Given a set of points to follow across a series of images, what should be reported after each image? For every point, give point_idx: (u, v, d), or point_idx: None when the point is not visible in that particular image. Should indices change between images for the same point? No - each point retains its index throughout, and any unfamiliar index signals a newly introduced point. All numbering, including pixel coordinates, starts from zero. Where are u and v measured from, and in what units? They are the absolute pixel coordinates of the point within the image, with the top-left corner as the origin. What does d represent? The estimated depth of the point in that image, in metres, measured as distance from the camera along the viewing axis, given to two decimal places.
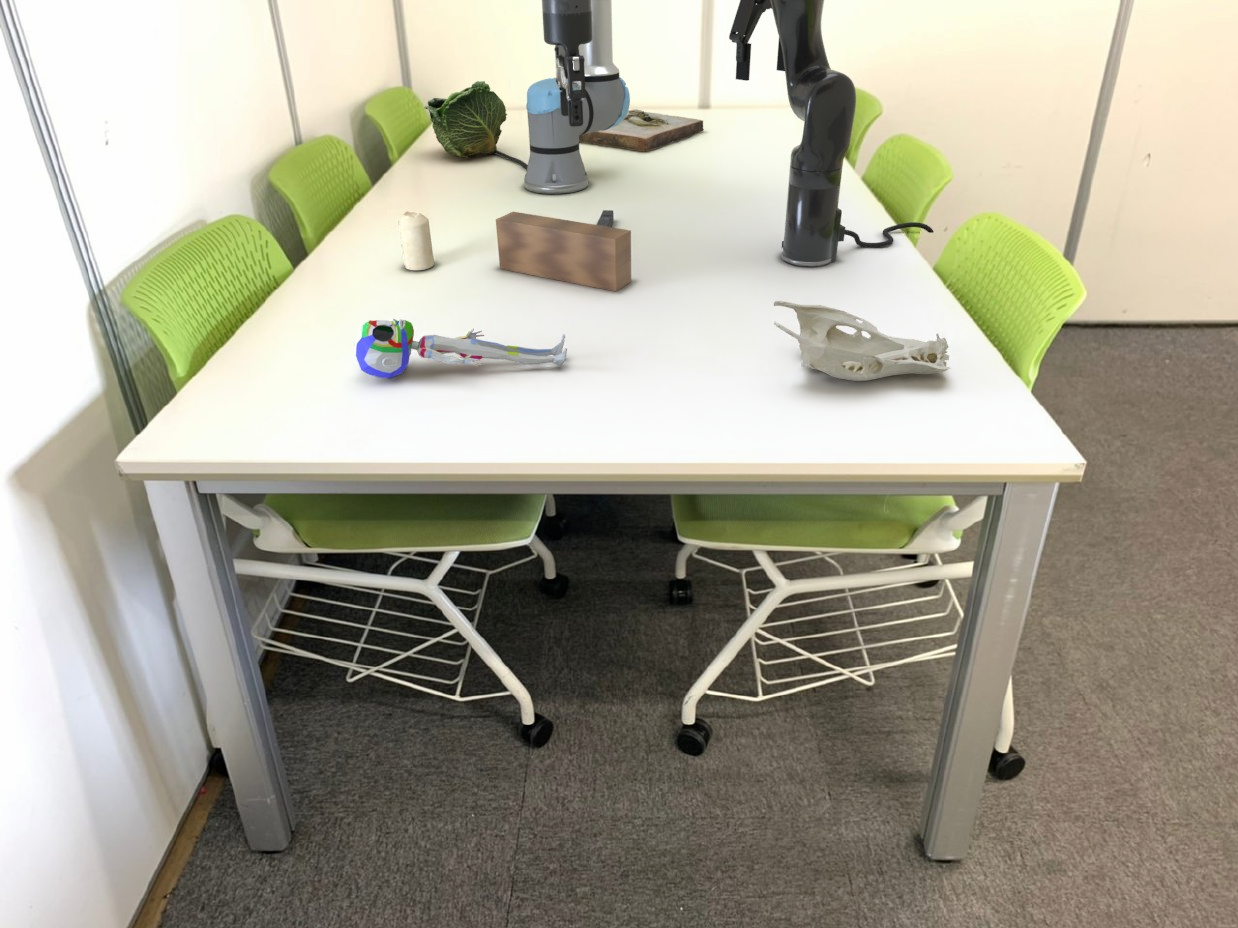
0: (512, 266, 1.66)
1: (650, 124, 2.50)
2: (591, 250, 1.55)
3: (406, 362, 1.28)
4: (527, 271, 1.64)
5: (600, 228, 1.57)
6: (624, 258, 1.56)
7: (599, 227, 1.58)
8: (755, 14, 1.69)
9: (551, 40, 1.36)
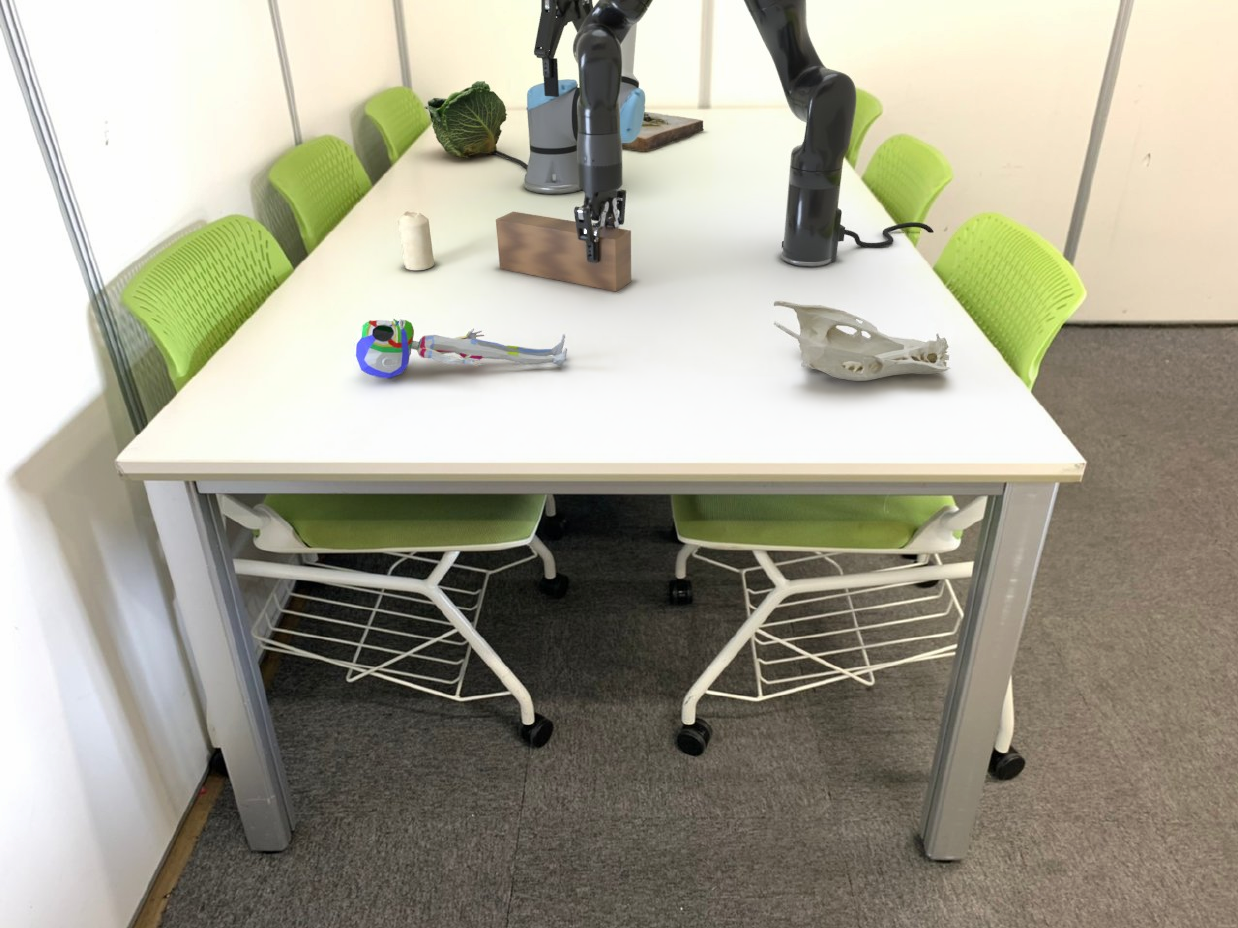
0: (512, 266, 1.66)
1: (650, 124, 2.50)
2: None
3: (406, 362, 1.28)
4: (527, 271, 1.64)
5: None
6: (624, 258, 1.56)
7: None
8: (557, 28, 1.62)
9: (578, 184, 1.51)
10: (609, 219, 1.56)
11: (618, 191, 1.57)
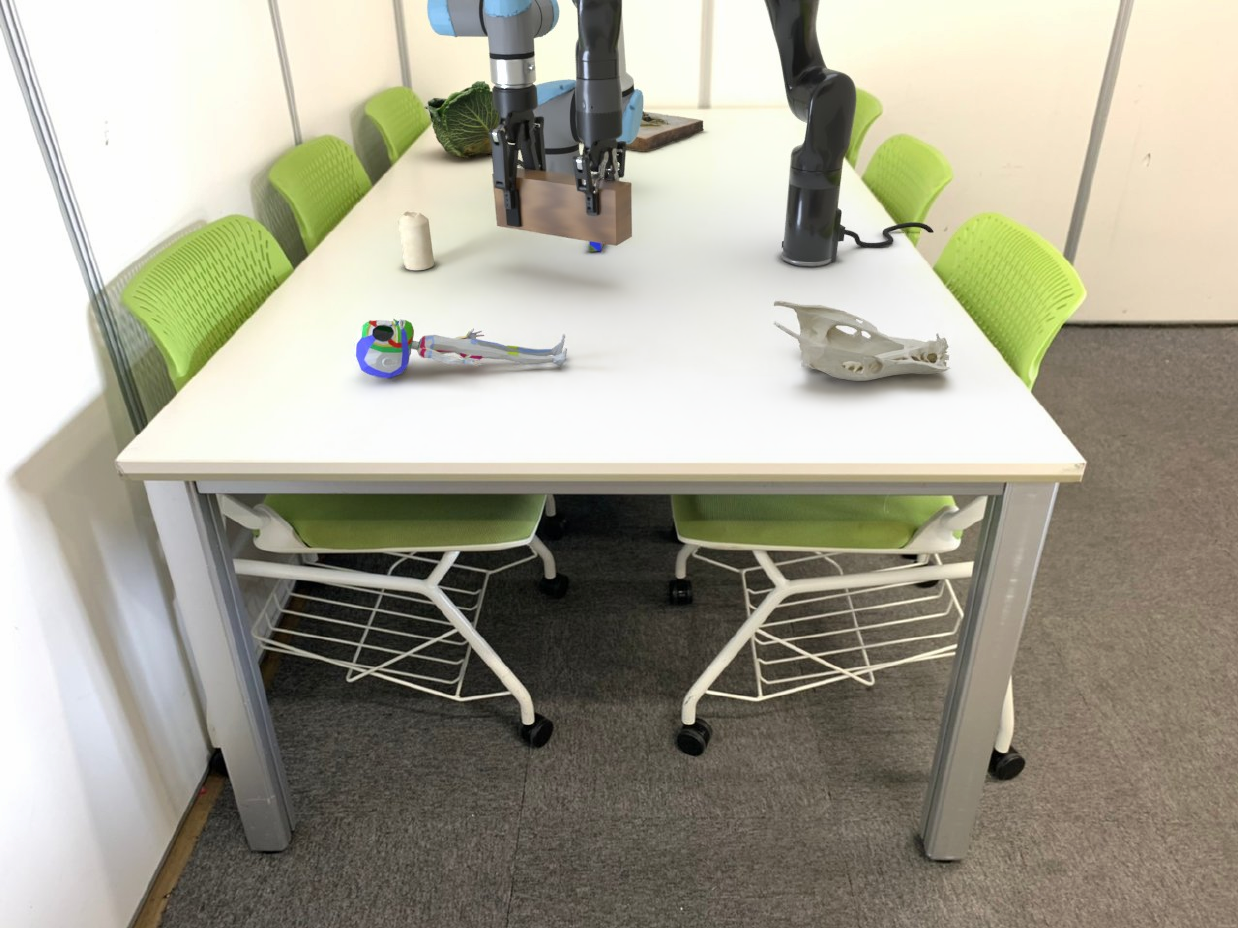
0: None
1: (650, 124, 2.50)
2: None
3: (406, 362, 1.28)
4: (525, 227, 1.60)
5: None
6: (624, 211, 1.52)
7: None
8: (512, 157, 1.54)
9: (577, 133, 1.46)
10: (609, 171, 1.52)
11: (618, 142, 1.52)
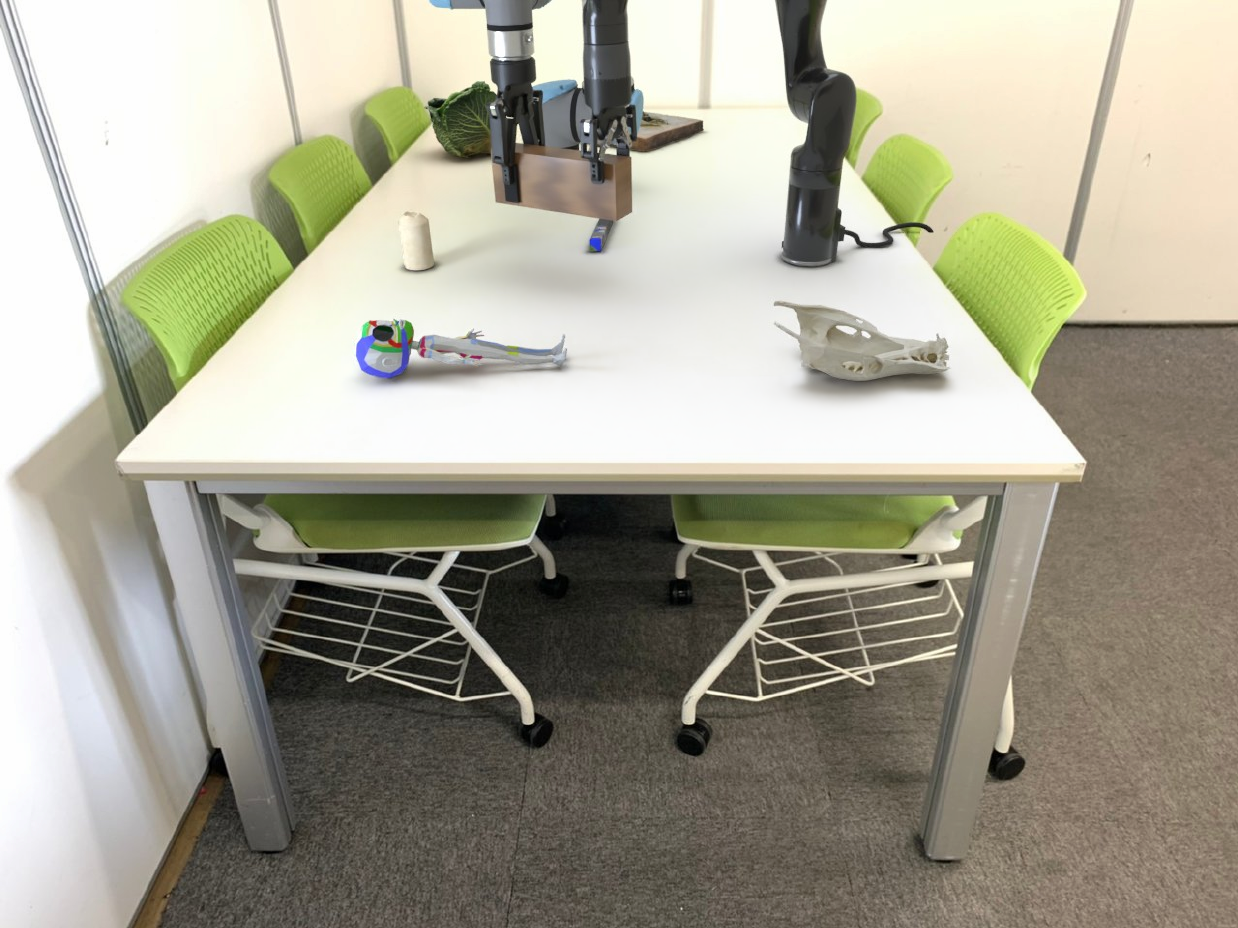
0: None
1: (650, 124, 2.50)
2: (590, 178, 1.49)
3: (406, 362, 1.28)
4: (524, 203, 1.58)
5: None
6: (624, 185, 1.50)
7: None
8: (510, 131, 1.52)
9: (585, 101, 1.43)
10: (620, 137, 1.49)
11: (627, 107, 1.48)
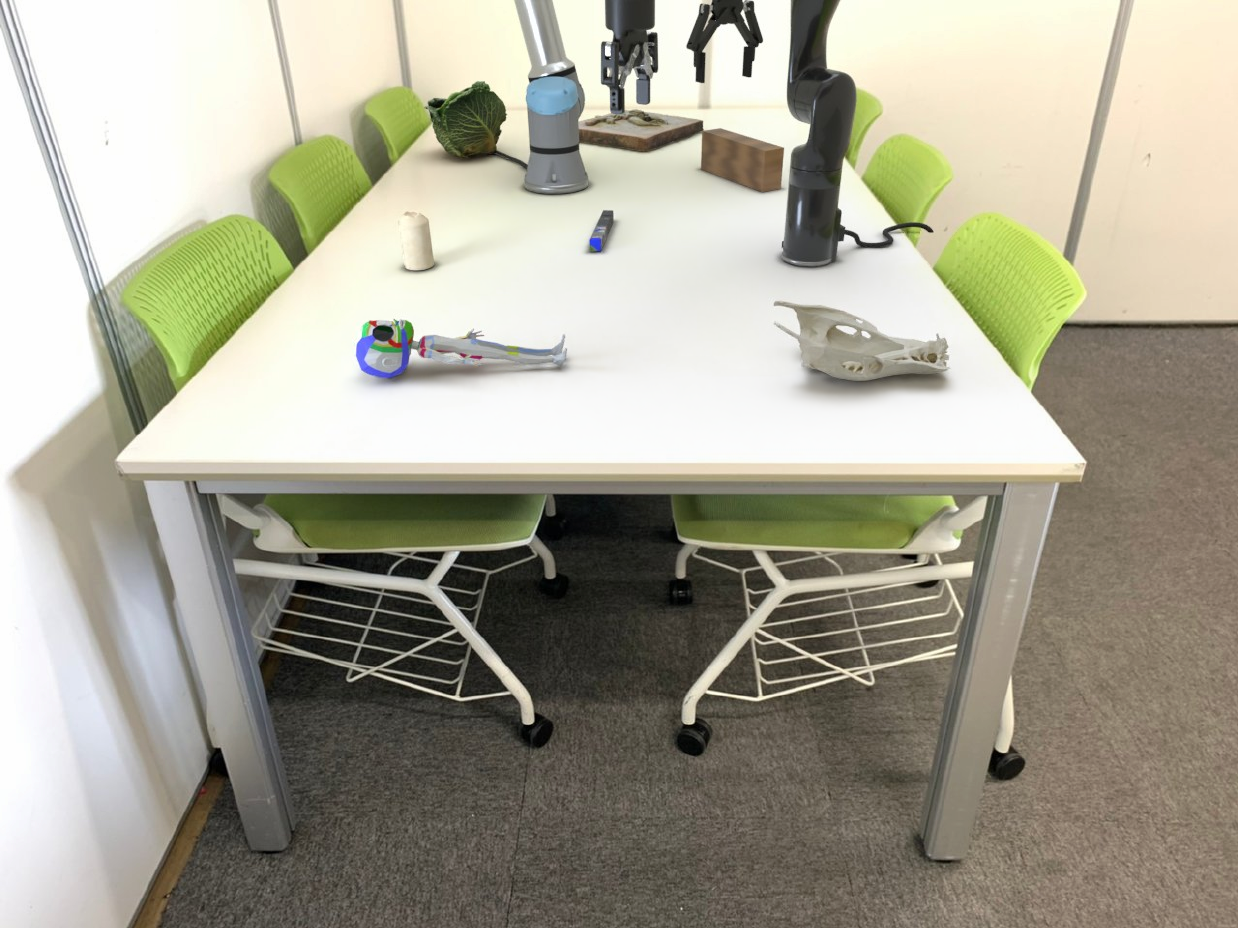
0: (707, 168, 2.24)
1: (650, 124, 2.50)
2: (751, 158, 2.08)
3: (406, 362, 1.28)
4: (715, 172, 2.21)
5: (764, 144, 2.09)
6: (773, 167, 2.06)
7: (765, 143, 2.09)
8: (710, 28, 2.04)
9: (605, 24, 1.35)
10: (641, 67, 1.41)
11: (649, 35, 1.41)
